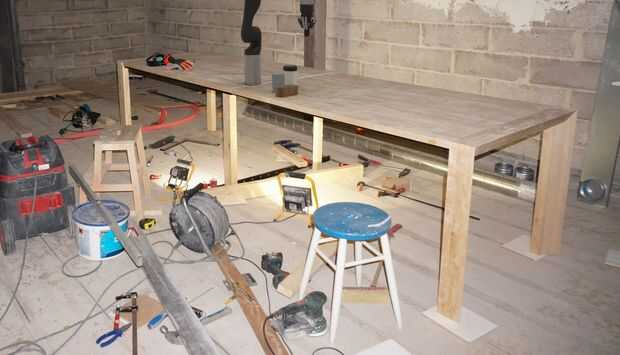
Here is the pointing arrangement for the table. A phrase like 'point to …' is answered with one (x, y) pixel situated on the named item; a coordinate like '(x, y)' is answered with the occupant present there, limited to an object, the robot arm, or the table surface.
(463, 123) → the table surface
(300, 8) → the robot arm
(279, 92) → the walnut block
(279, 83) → the grey block
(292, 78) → the jar
